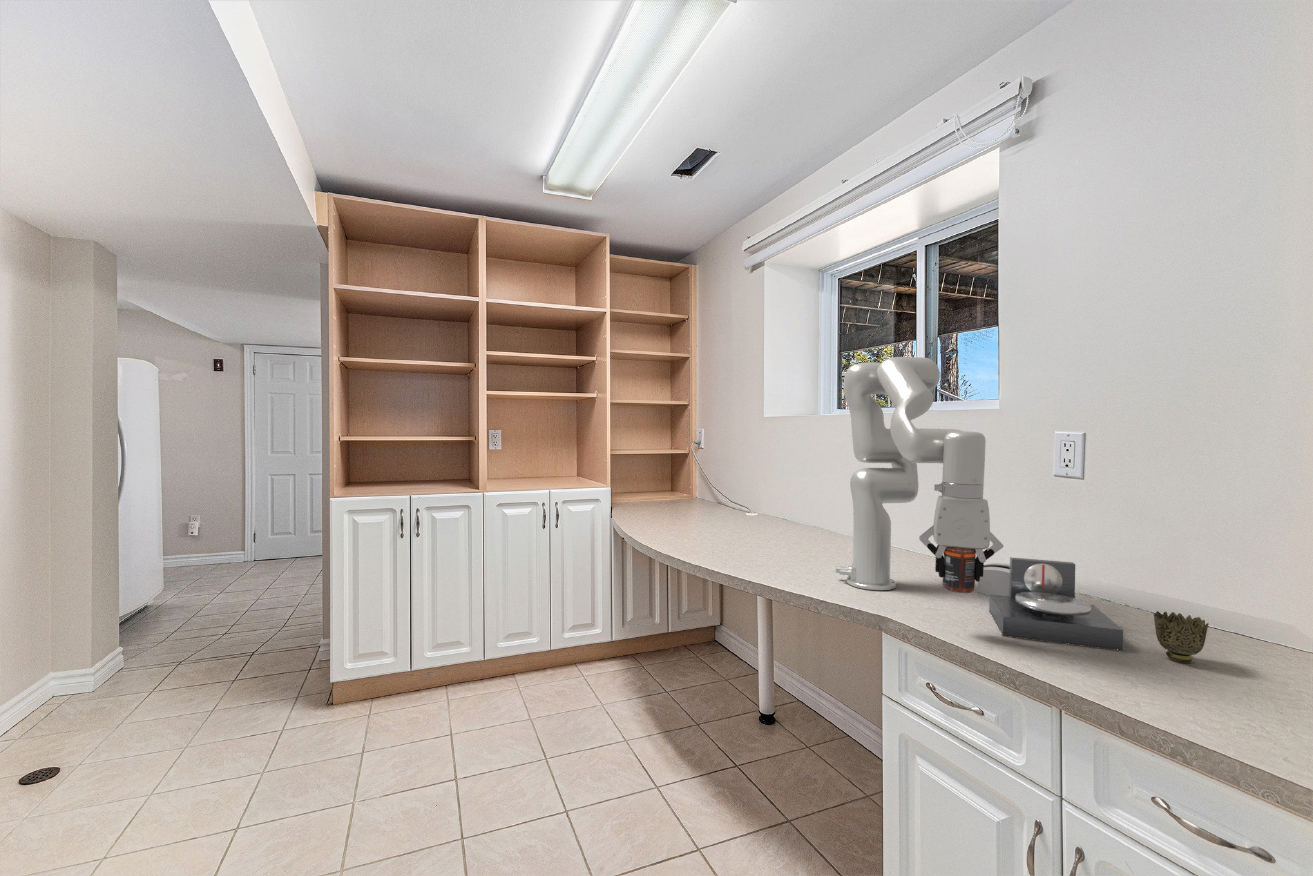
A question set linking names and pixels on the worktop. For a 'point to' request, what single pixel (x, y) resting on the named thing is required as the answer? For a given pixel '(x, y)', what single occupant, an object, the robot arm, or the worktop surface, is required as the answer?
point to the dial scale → (1051, 607)
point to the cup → (1180, 635)
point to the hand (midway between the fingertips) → (958, 577)
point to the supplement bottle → (959, 569)
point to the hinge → (995, 579)
